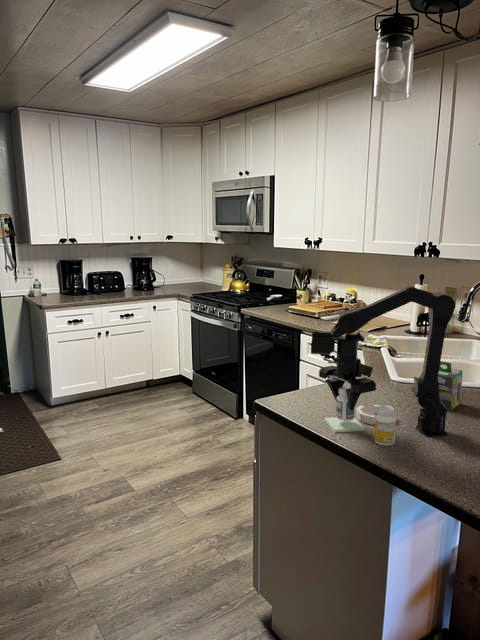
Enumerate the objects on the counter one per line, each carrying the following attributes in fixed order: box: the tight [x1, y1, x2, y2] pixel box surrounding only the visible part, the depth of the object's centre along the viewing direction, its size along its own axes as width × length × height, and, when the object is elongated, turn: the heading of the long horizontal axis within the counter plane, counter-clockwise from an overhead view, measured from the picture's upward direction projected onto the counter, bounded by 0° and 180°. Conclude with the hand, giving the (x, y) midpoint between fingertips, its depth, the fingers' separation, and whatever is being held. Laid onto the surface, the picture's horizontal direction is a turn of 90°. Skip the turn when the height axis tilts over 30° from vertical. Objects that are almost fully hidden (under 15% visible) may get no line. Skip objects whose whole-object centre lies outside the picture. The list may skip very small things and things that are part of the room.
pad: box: [324, 416, 366, 434], centre depth 141 cm, size 9×9×1 cm
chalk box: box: [438, 360, 463, 412], centre depth 156 cm, size 9×9×15 cm
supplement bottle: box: [373, 404, 397, 446], centre depth 129 cm, size 5×5×10 cm
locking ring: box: [355, 404, 381, 426], centre depth 146 cm, size 10×10×2 cm
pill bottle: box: [335, 386, 356, 421], centre depth 140 cm, size 5×5×9 cm
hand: (345, 406), depth 140 cm, fingers closed on pill bottle, 5 cm apart
